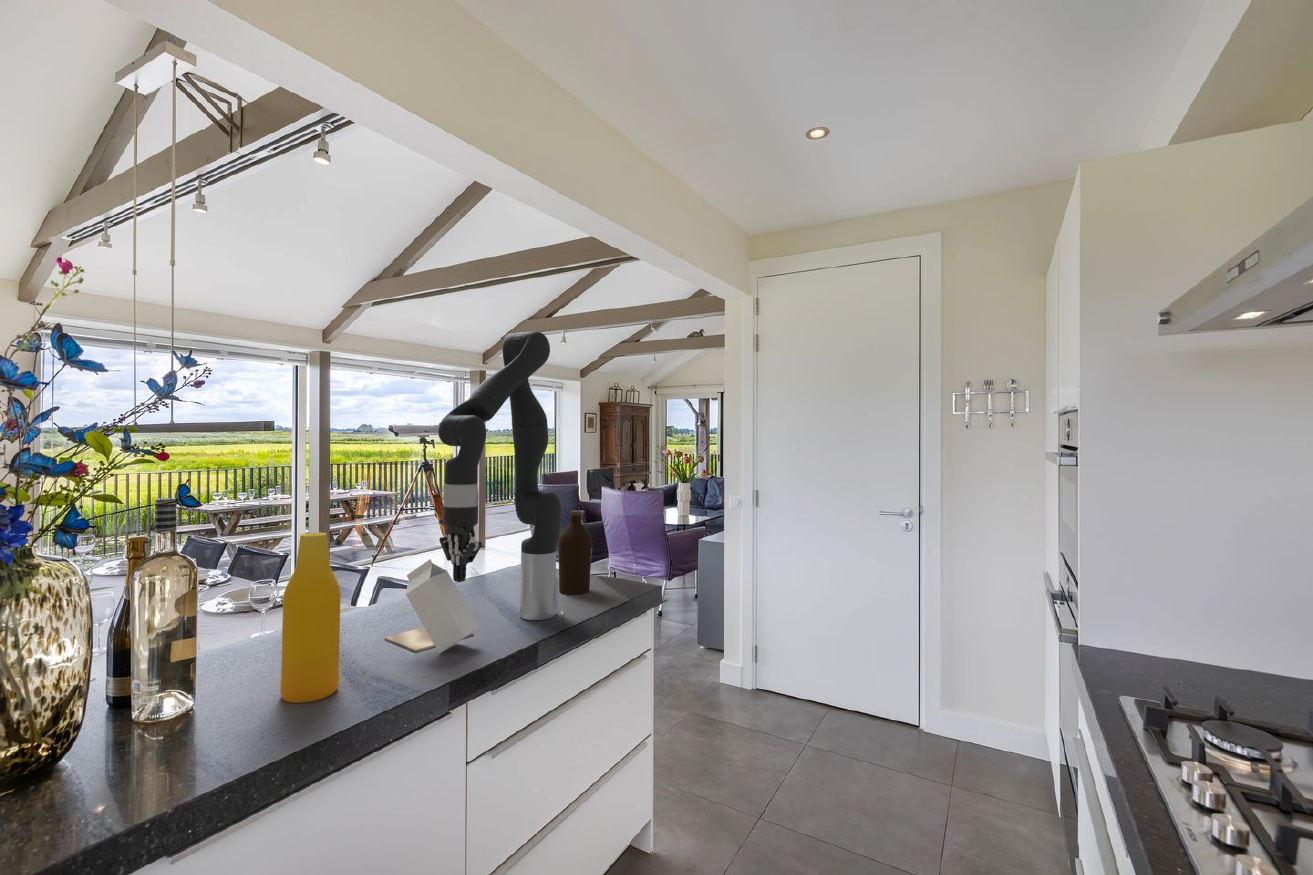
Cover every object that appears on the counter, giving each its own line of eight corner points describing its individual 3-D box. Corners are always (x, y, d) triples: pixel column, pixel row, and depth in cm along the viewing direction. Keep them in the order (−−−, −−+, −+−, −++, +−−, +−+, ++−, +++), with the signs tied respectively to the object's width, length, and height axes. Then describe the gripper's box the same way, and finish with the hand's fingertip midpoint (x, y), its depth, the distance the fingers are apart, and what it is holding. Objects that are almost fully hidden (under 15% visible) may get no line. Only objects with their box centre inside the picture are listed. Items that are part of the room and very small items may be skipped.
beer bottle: (267, 701, 105) (271, 536, 105) (306, 680, 114) (310, 529, 114) (313, 706, 103) (317, 539, 103) (349, 685, 112) (353, 531, 112)
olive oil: (566, 597, 178) (567, 513, 178) (551, 589, 187) (553, 510, 187) (597, 592, 184) (599, 511, 184) (581, 585, 193) (583, 508, 193)
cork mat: (441, 624, 150) (442, 622, 150) (473, 635, 142) (473, 633, 142) (384, 639, 138) (384, 637, 138) (415, 652, 130) (415, 650, 130)
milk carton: (464, 637, 128) (420, 562, 130) (439, 654, 129) (396, 578, 131) (480, 627, 135) (439, 556, 137) (456, 643, 136) (416, 571, 138)
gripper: (493, 505, 132) (491, 582, 132) (457, 500, 140) (456, 574, 140) (464, 507, 126) (462, 589, 126) (428, 502, 134) (427, 579, 134)
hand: (459, 581), depth 133 cm, fingers closed
